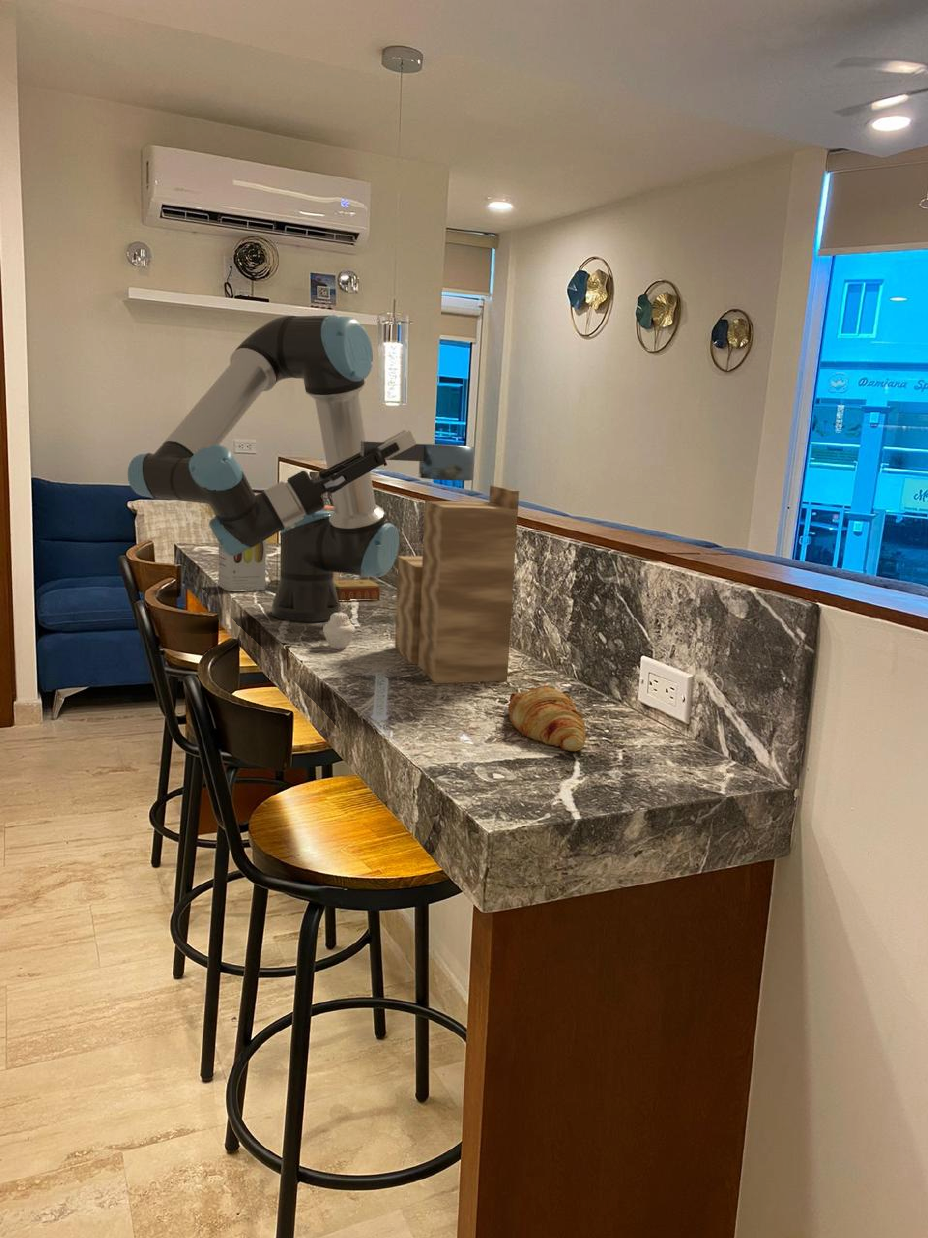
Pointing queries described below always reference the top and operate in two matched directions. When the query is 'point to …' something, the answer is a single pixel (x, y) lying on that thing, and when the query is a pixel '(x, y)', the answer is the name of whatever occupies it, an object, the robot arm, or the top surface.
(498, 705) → the top surface
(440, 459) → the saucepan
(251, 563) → the supplement box
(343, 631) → the white ridged rounded piece
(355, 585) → the carton
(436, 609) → the pine stand
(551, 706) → the croissant
